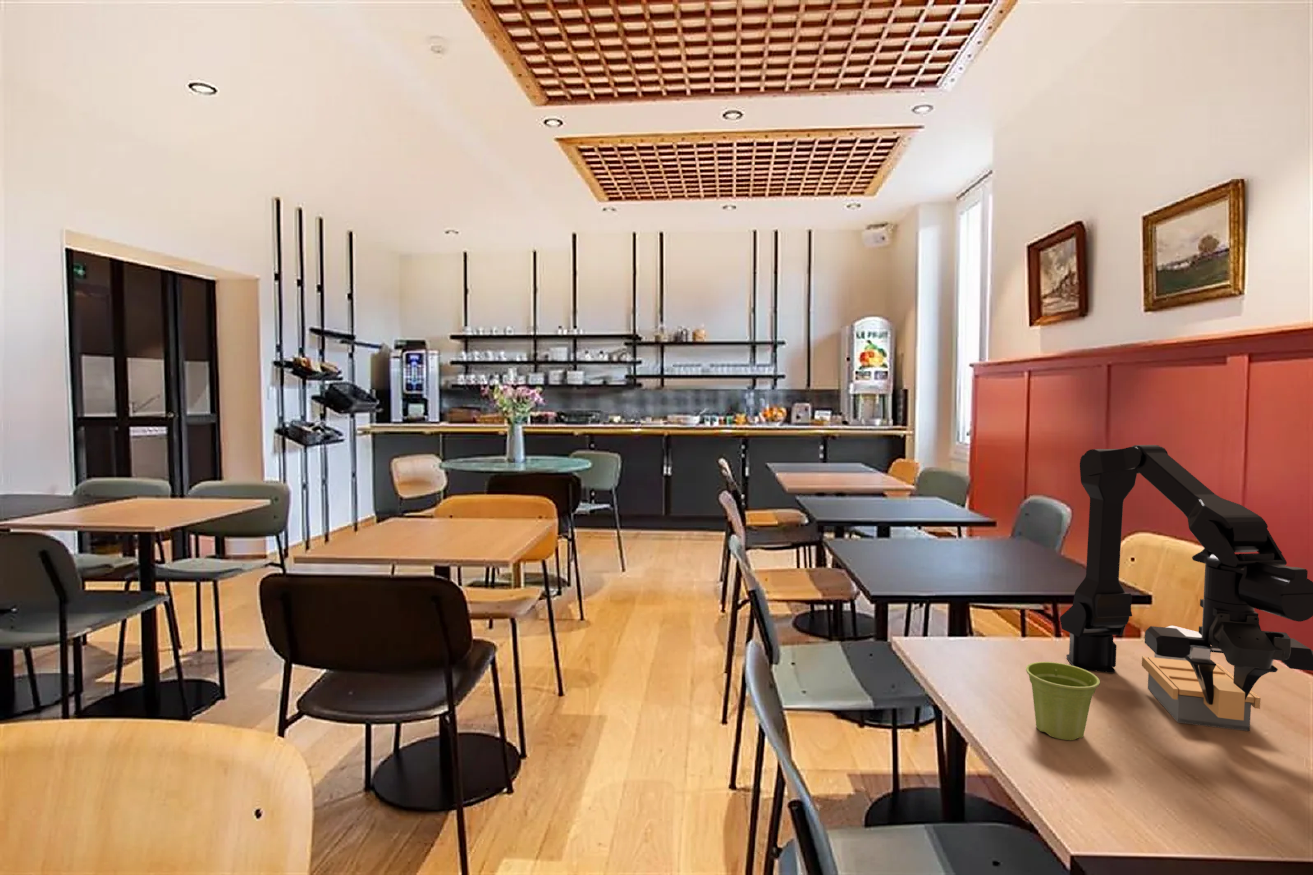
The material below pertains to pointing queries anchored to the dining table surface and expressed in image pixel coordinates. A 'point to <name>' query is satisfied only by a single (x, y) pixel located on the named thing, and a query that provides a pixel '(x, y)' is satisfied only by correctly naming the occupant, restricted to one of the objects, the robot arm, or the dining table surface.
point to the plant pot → (1061, 698)
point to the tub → (1196, 709)
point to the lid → (1184, 682)
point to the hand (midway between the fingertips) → (1223, 705)
